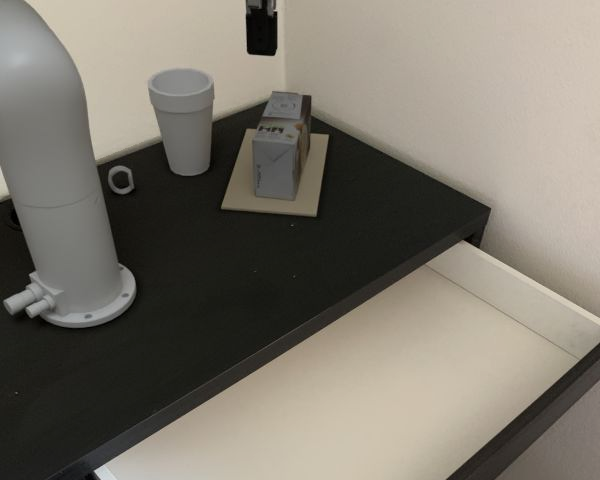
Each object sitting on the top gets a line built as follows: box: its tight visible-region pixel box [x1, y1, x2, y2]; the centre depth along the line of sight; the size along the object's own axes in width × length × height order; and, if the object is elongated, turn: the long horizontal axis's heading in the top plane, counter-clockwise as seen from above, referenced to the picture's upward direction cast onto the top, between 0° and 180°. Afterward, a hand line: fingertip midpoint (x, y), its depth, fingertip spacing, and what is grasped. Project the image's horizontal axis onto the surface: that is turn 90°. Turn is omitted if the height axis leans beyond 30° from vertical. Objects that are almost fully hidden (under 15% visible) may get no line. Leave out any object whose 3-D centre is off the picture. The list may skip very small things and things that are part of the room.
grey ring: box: [107, 165, 135, 195], centre depth 98 cm, size 4×2×4 cm, turn 105°
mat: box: [220, 128, 330, 218], centre depth 104 cm, size 24×14×1 cm, turn 174°
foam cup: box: [146, 67, 216, 177], centre depth 100 cm, size 10×9×13 cm
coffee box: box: [252, 90, 313, 201], centre depth 100 cm, size 9×6×16 cm
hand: (262, 52), depth 73 cm, fingers closed
